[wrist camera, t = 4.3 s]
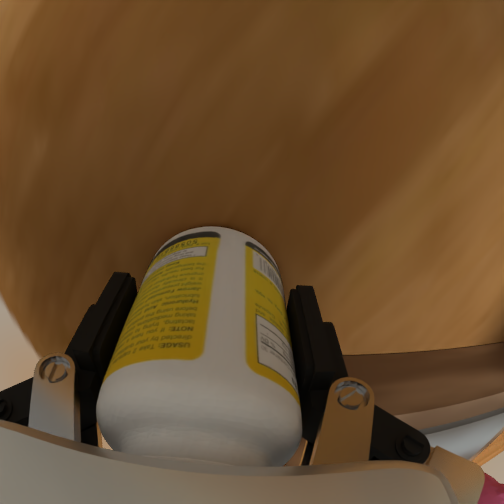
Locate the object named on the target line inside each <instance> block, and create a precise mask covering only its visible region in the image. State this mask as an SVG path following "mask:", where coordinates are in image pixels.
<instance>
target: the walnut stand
mask: <svg viewBox="0 0 504 504" xmlns="http://www.w3.org/2000/svg"><path fill="white" fill-rule="evenodd" d="M343 359H344V362H345V366H346V369H347V373H348V376H349V377H354V378H357V379H360V380H362V381H364V382H365V383H367V384H368V385H369V386H370V387H371V389H372V391H373V393H374V398H375V401H374V404H375V405H377V406H378V407H380V408H382V409H383V410H385V411H386V412H388V413H390V414H391V415H393V416H395V417H396V418H398V419H400V420H401V421H403V422H405V423H407V424H408V425H410V426H412V427H413V428H415V429H417V430H418V431H420V432H421V433H423V434H424V435H425V436H426V437H427V439H428V440H429V443H430V446H432V447H434V448H435V447H436V446H439V447H441V448H443V449H445V450H448V451H450V452H452V453H454V454H456V455H458V456H460V457H463V458H465V459H467V460H469V461H472V460H473V459H474V458H475V457H476V456H477V455H479V454H480V453H481V452H482V451H483V450H484V449H485V448H486V447H487V446H488V445H489V444H491V443H492V442H493V441H494V440H495V439H496V438H497V437H498V436H499V435H500V434H501V433H502V432H503V431H504V342H502V343H495V344H488V345H481V346H473V347H465V348H456V349H447V350H436V351H425V352H412V353H397V354H378V355H348V356H343ZM305 443H306V440H305V439H304V438H302V437H301V441H300V444H299V447H298V449H297V450H296V452H295V454H294V455H293V456H292V457H291V459H290V460H289V461H288V462H287V464H286V466H299V464H300V461H301V457H302V454H303V450H304V447H305Z"/></svg>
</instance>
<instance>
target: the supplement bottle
mask: <svg viewBox="0 0 504 504" xmlns="http://www.w3.org/2000/svg"><path fill="white" fill-rule="evenodd" d="M96 416H97V422H98V425H99V428H100V431H101V433H102V435H103V437H104V439H105V440H106V442H107V443H108V444H109V445H110V447H111V448H112V449H113V450H114V451H119V452H124V453H129V454H134V455H140V456H145V457H152V458H158V459H165V460H172V461H180V462H189V463H199V464H211V465H227V466H254V467H282V466H283V465H285V464H286V463H287V462H288V461H289V460H290V459H291V457H292V456H293V455H294V454H295V452H296V450H297V449H298V447H299V444H300V441H301V437H302V415H301V407H300V399H299V394H298V386H297V379H296V372H295V365H294V357H293V351H292V343H291V336H290V329H289V323H288V316H287V310H286V303H285V296H284V290H283V284H282V280H281V276H280V272H279V269H278V266H277V264H276V262H275V261H274V259H273V257H272V256H271V255H270V253H269V252H268V251H267V250H266V249H265V248H264V246H263V245H261V244H260V243H259V242H258V241H256V240H255V239H253V238H252V237H250V236H248V235H246V234H244V233H242V232H239V231H236V230H233V229H229V228H224V227H214V226H209V227H199V228H194V229H189V230H186V231H184V232H181V233H179V234H177V235H175V236H174V237H172V238H171V239H169V240H168V241H167V242H166V243H165V244H164V245H163V246H162V247H161V248H160V249H159V250H158V251H157V253H156V254H155V256H154V258H153V260H152V261H151V263H150V265H149V267H148V270H147V272H146V274H145V277H144V279H143V282H142V284H141V286H140V289H139V291H138V294H137V296H136V298H135V301H134V303H133V305H132V308H131V310H130V312H129V315H128V317H127V320H126V322H125V325H124V327H123V330H122V332H121V334H120V337H119V340H118V342H117V345H116V348H115V351H114V353H113V356H112V359H111V361H110V364H109V366H108V369H107V372H106V375H105V377H104V380H103V383H102V386H101V389H100V393H99V397H98V400H97V405H96Z"/></svg>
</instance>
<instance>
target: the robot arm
mask: <svg viewBox="0 0 504 504" xmlns="http://www.w3.org/2000/svg"><path fill="white" fill-rule="evenodd" d="M136 296H137V288H136V281H135V278H133V277H131V275H130V274H129V273H122V272H114V273H113V275H112V277H111V278H110V280H109V282H108V283H107V285H106V287H105V289H104V290H103V292H102V294H101V296H100V297H99V299H98V301H97V303H96V305H94V304H93V305H91V306H90V307H89V309H88V311H87V313H86V314H85V316H84V318H83V320H82V322H81V323H80V325H79V327H78V329H77V331H76V333H75V335H74V336H73V338H72V340H71V342H70V344H69V346H68V348H67V350H66V352H65V354H63V353H51V354H48V355H46V356H44V357H43V358H42V359H40V360H39V362H38V363H37V365H36V368H35V372H34V377H32V378H30V379H28V380H26V381H23V382H21V383H19V384H17V385H14V386H12V387H10V388H8V389H5V390H3V391H1V392H0V504H477V503H478V500H479V498H480V495H481V491H482V488H483V485H484V481H485V475H484V472H483V470H482V468H481V467H480V466H479V465H477V464H476V463H474V462H471V461H469V460H467V459H465V458H463V457H460V456H458V455H456V454H454V453H452V452H450V451H448V450H445V449H443V448H441V447H439V446H436V447H435V448H434V447H432V446H430V443H429V440H428V439H427V437H426V436H425V435H424V434H423V433H421V432H420V431H418V430H417V429H415V428H413V427H412V426H410V425H408V424H407V423H405V422H403V421H401V420H400V419H398V418H396V417H395V416H393V415H391V414H390V413H388V412H386V411H385V410H383V409H382V408H380V407H378V406H377V405H375V404H374V401H375V398H374V393H373V391H372V389H371V387H370V386H369V385H368V384H367V383H365V382H364V381H362V380H360V379H357V378H354V377H349V376H348V373H347V369H346V366H345V362H344V359H343V355H342V352H341V348H340V345H339V342H338V338H337V335H336V332H335V328H334V325H333V323H331V322H323V321H322V317H321V314H320V310H319V306H318V303H317V299H316V296H315V292H314V289H313V286H303V285H297V286H296V289H291V290H290V295H289V300H288V305H287V316H288V323H289V329H290V336H291V343H292V351H293V357H294V365H295V372H296V379H297V386H298V394H299V399H300V407H301V415H302V438H304V439H305V440H306V443H305V447H304V450H303V454H302V457H301V461H300V464H299V466H282V467H254V466H227V465H211V464H199V463H189V462H180V461H172V460H165V459H158V458H152V457H145V456H140V455H134V454H129V453H124V452H119V451H114V450H109V449H104V448H103V447H102V437H101V431H100V428H99V425H98V422H97V416H96V405H97V400H98V397H99V393H100V389H101V386H102V383H103V380H104V377H105V375H106V372H107V369H108V366H109V364H110V361H111V359H112V356H113V353H114V351H115V348H116V345H117V342H118V340H119V337H120V334H121V332H122V330H123V327H124V325H125V322H126V320H127V317H128V315H129V312H130V310H131V308H132V305H133V303H134V301H135V298H136Z"/></svg>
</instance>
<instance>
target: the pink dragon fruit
mask: <svg viewBox="0 0 504 504" xmlns="http://www.w3.org/2000/svg"><path fill="white" fill-rule="evenodd" d="M484 475H485V481H484V485H483V488H482V491H481V495H480V498H479V500H478V503H477V504H504V484H500V483H498V482H497V481H496V480H495V479H494V478H492V477H491V476H489V475H488V474H486V473H484Z"/></svg>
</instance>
